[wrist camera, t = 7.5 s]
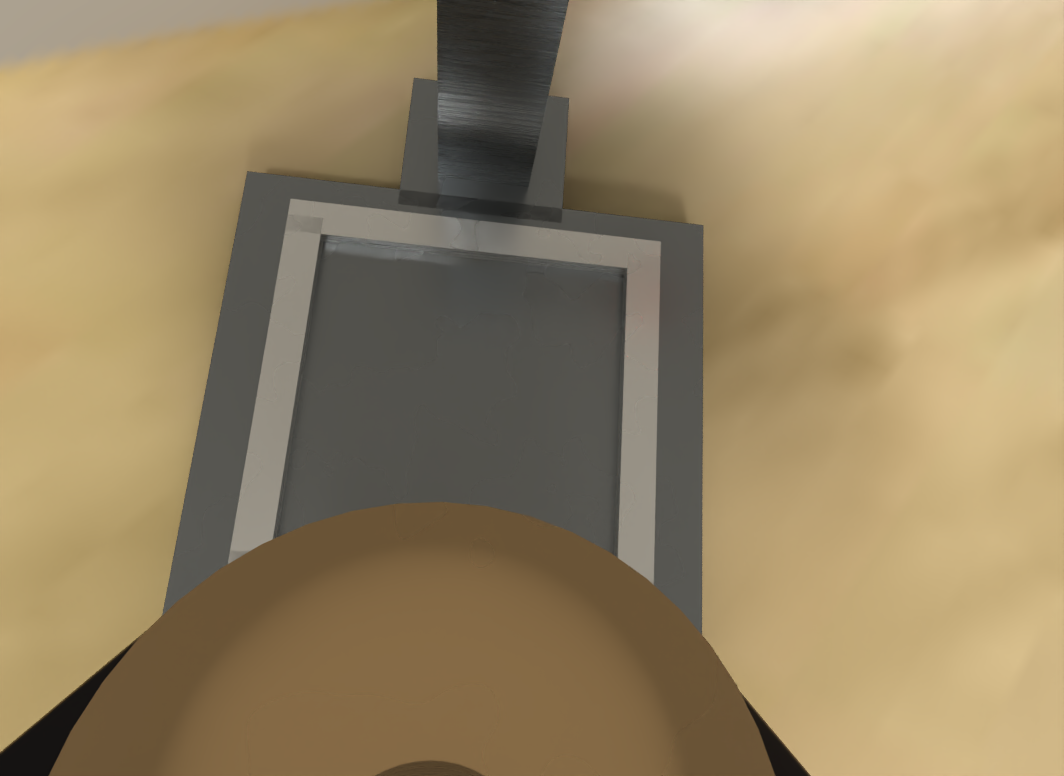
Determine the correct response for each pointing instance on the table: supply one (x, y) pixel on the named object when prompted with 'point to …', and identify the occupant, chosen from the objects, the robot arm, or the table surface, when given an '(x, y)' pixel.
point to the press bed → (458, 335)
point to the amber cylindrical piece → (420, 663)
